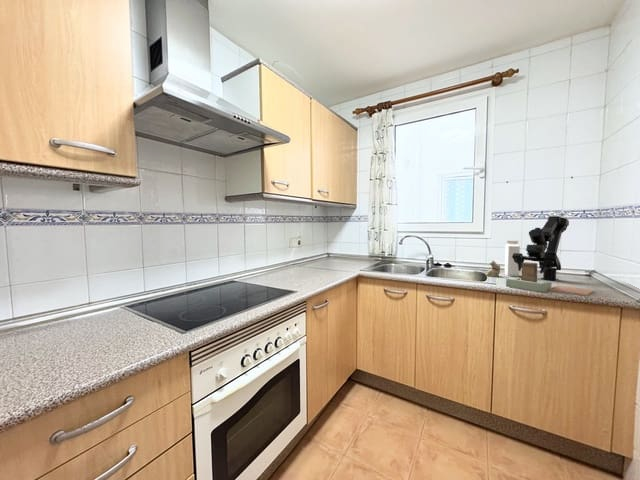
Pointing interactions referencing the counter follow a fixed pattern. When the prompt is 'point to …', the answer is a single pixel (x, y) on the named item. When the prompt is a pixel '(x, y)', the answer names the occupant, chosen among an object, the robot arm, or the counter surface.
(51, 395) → the counter surface
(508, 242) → the milk
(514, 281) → the bay
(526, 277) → the brown rectangular block
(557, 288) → the tile
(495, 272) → the chocolate bunny
